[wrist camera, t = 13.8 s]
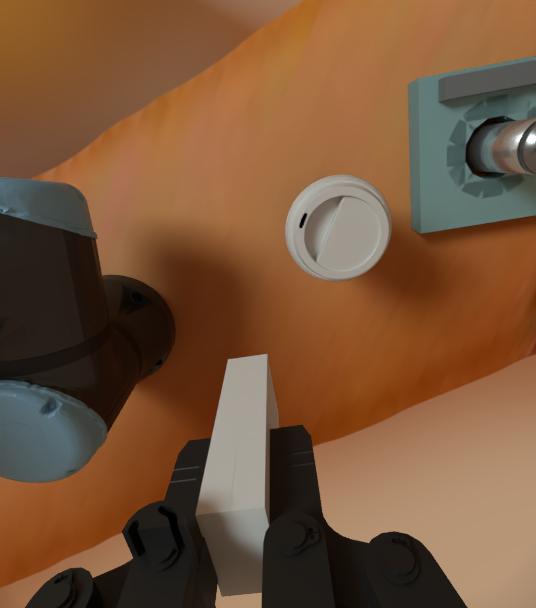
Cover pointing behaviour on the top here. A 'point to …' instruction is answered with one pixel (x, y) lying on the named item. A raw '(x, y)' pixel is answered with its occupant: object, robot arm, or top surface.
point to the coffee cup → (338, 228)
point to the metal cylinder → (503, 147)
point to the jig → (452, 145)
